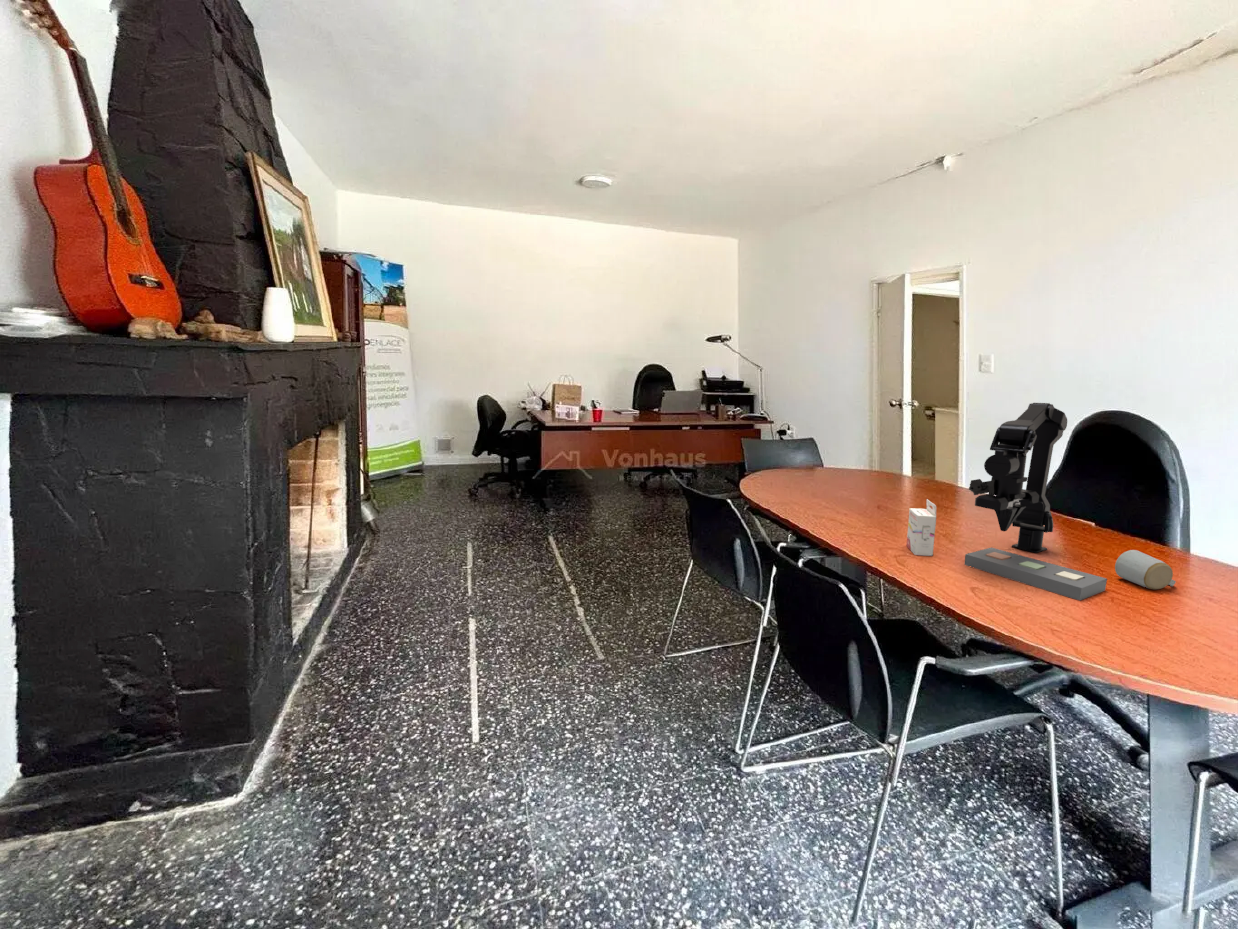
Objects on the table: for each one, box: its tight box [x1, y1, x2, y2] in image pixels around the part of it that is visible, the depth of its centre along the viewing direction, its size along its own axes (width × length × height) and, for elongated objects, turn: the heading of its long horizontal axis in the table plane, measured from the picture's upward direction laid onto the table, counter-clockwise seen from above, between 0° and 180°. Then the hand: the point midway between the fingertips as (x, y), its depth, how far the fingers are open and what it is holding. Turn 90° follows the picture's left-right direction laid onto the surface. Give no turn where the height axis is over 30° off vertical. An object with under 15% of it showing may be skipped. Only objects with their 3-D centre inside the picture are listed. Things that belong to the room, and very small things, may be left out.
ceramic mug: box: [1114, 549, 1177, 590], centre depth 134 cm, size 11×8×8 cm
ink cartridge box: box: [906, 498, 937, 557], centre depth 158 cm, size 9×5×15 cm, turn 168°
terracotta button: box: [986, 552, 1011, 560], centre depth 146 cm, size 4×4×2 cm
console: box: [963, 547, 1108, 601], centre depth 139 cm, size 12×26×3 cm, turn 27°
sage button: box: [1019, 561, 1045, 570], centre depth 139 cm, size 4×4×2 cm
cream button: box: [1055, 571, 1084, 581], centre depth 132 cm, size 4×4×2 cm
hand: (1003, 530), depth 144 cm, fingers closed
